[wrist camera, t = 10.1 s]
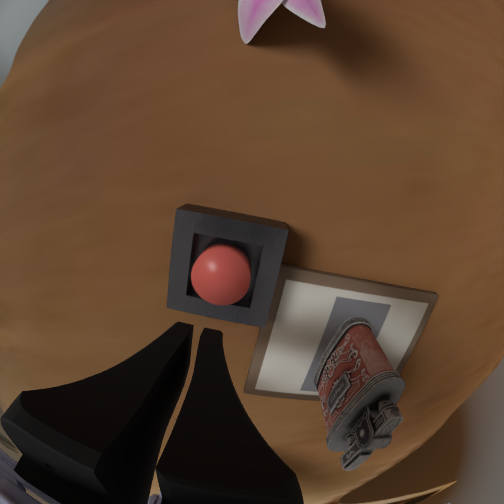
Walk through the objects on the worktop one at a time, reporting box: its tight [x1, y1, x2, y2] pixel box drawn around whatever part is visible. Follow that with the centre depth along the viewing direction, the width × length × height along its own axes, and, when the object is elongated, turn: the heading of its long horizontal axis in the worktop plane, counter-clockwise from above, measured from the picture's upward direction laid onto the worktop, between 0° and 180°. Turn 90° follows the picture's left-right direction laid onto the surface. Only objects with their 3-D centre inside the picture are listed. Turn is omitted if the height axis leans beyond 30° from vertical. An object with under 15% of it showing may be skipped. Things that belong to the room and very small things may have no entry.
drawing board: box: [244, 264, 438, 401], centre depth 22 cm, size 13×15×1 cm
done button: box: [191, 243, 251, 305], centre depth 17 cm, size 4×4×2 cm
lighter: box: [314, 317, 405, 471], centre depth 16 cm, size 8×3×10 cm, turn 165°
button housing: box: [167, 204, 289, 327], centre depth 19 cm, size 7×7×2 cm
